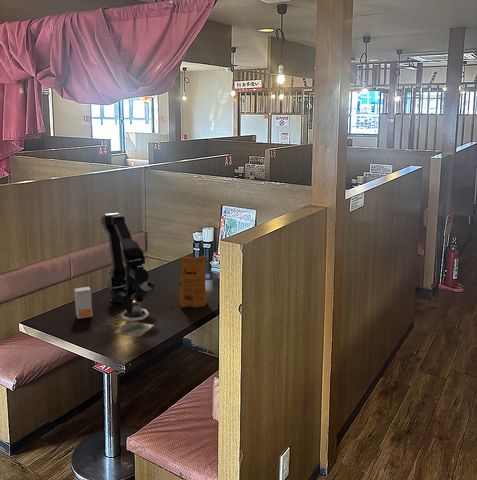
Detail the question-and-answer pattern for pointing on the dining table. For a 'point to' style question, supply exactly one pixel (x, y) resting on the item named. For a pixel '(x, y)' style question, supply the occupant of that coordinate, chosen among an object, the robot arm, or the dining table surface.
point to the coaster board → (134, 329)
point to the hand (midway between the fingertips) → (134, 311)
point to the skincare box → (83, 302)
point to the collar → (136, 317)
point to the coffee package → (192, 282)
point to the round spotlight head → (136, 309)
